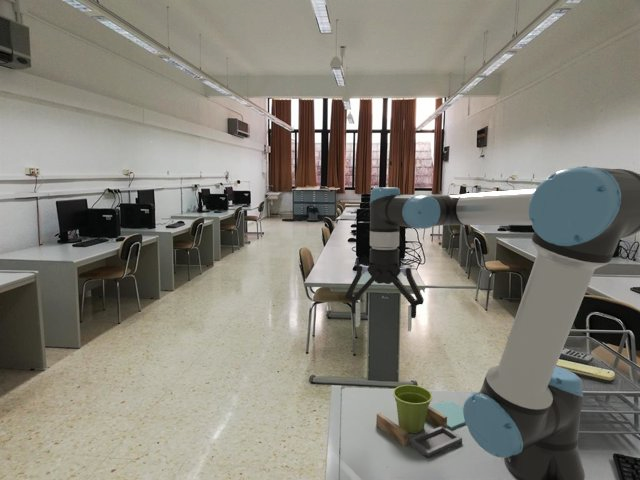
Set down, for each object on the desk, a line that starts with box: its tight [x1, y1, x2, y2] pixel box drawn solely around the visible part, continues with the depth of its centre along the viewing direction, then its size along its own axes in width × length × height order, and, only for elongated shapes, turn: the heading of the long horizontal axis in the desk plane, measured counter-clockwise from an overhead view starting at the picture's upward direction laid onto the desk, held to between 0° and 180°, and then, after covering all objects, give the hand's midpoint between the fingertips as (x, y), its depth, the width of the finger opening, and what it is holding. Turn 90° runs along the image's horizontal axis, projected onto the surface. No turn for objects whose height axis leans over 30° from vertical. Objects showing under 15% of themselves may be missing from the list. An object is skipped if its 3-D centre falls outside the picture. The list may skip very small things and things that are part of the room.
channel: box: [376, 405, 448, 447], centre depth 106 cm, size 10×14×3 cm
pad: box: [429, 401, 466, 431], centre depth 112 cm, size 10×10×1 cm
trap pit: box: [408, 425, 463, 459], centre depth 99 cm, size 6×11×1 cm, turn 122°
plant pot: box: [392, 384, 433, 434], centre depth 106 cm, size 9×9×9 cm
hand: (383, 327), depth 113 cm, fingers open, 13 cm apart
